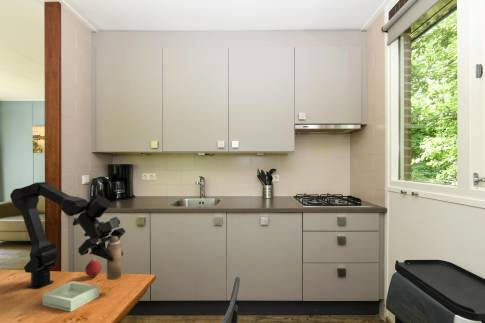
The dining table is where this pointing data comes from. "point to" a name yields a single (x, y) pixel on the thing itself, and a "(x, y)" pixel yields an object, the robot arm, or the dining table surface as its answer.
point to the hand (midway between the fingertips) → (117, 257)
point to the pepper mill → (114, 265)
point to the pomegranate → (93, 268)
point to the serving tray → (70, 296)
